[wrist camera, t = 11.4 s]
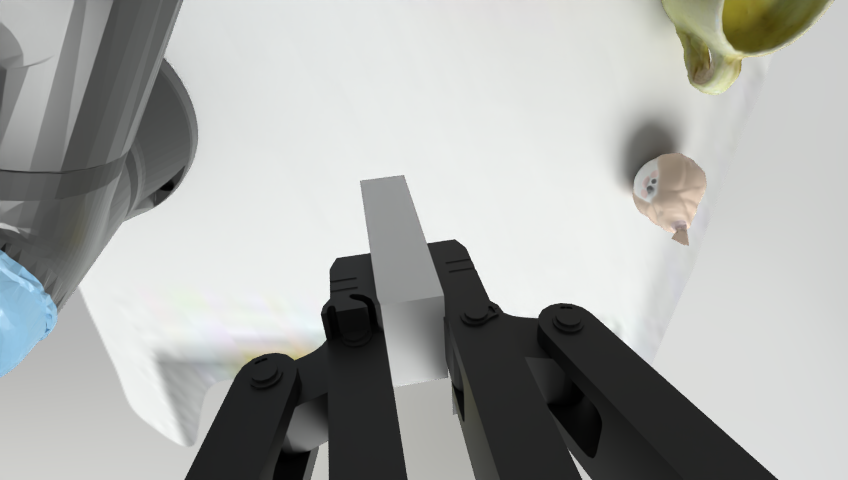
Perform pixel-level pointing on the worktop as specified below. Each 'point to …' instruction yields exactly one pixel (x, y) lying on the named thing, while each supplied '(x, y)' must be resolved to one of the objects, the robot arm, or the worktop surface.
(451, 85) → the worktop surface
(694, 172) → the garlic bulb
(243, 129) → the worktop surface
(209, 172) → the worktop surface
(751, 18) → the mug
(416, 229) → the robot arm
